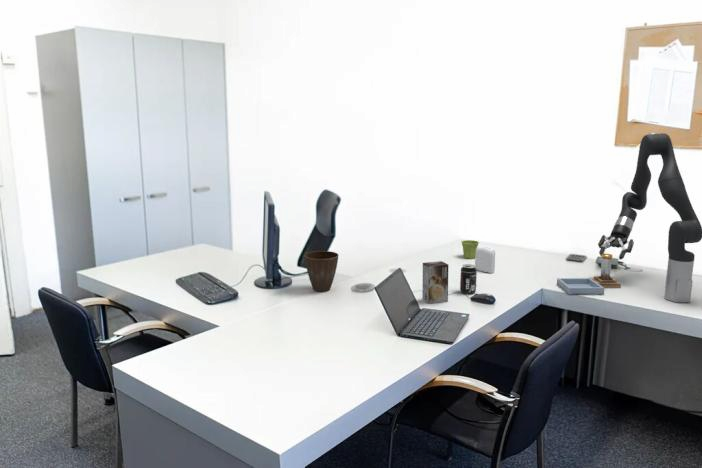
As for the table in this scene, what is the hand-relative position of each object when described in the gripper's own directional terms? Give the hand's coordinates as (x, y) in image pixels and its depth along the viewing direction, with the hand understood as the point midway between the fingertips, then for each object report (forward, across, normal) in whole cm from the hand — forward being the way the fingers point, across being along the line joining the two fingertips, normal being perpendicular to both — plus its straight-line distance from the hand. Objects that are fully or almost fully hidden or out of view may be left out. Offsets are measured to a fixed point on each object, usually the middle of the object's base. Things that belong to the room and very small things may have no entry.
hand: (610, 256), depth 260 cm
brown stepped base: (+12, 0, +6) cm, 13 cm away
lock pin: (+10, 0, +4) cm, 11 cm away
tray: (+22, -5, -5) cm, 23 cm away
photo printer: (+24, -52, -7) cm, 57 cm away
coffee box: (+62, -41, -45) cm, 87 cm away
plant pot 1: (+78, -87, -61) cm, 132 cm away
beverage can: (+49, -38, -31) cm, 69 cm away
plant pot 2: (+12, -72, +6) cm, 73 cm away
